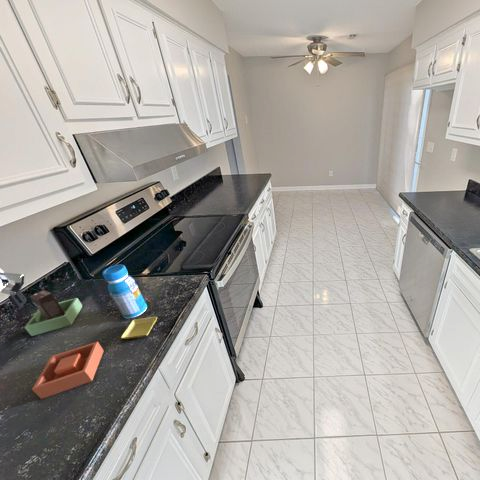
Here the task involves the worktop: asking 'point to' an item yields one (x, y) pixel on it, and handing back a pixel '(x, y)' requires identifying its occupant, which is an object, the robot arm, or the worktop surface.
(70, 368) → the block
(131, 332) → the yellow flat square tray
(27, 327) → the sage bin
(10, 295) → the robot arm
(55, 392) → the terracotta bin
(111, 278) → the blue medicine bottle
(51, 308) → the box
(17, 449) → the worktop surface
